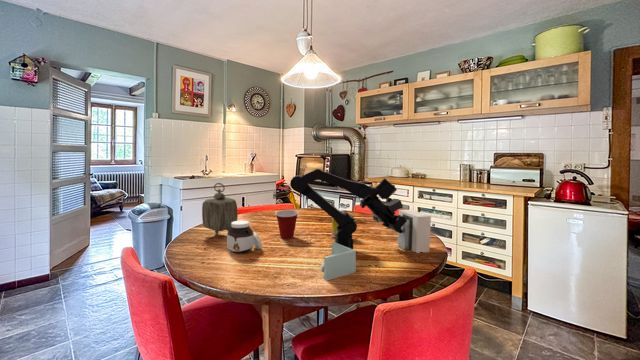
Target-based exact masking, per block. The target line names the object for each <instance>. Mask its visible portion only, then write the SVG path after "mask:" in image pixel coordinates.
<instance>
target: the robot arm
mask: <svg viewBox="0 0 640 360" xmlns="http://www.w3.org/2000/svg"><path fill="white" fill-rule="evenodd" d="M317 180H320V181H322V182H325V183H328V184H330V185H331V186H332V185H333V186H335V187H338V188H340V189H343V190H345V191H347V192H349V193H351V194H352V195H354V196H355V197H358V198H359V199H360V200H359V202H360V203H359V207H360V208H361V209H364V208H366V207H367V208H368V209H369V210H370V211H371V214H372V219H373V221H375V223H377V224H379V223H382V225H381V226H384V227H386V228H387V229H389V230H391V231H393V232H397V233H398V232H399V233H402V229H401V227H402V226H403V225H404V224H405V223H406V222H407V219H406V218H405V217H404V216H401V215H399V214H396V211H399V210H401V209H403V208H404V206H403V204H402V201H401V199H398V198H391V196H392V195H393V194H394V193H395V192H397V191H398V189H397V188H396V186H394V184H392V183H391V182H390V181H388V180H387V178H382V179H381V181H380V182H379V183H378V184H377V185H376V186H370V185H367V184H366V183H364V182H361V181H356V180H351V179H350V180H349V179H346V178H343V177H339V176H337V175H334V174H331V173H330V172H326V171H324V170H322V169H320V168H315V169H314V170H312V171H309V172H306V173H305V174H303V175H301V174H298V175H294V176H293V177H292V178H291V179H290V183H289V184H290V185H289V186H290V188H291V189H292V190H293V191H295V192H296V193H299V194H300V195H302V196H304V197H307V198H308V199H309V200H310V201H312V202H313V203H314V204H315V205H317V206H318V207H319V208H320V209H322V210H323V211H324V212H325V213H326V214H328V216H330V217H331V219H332V218H333V219H334V220H335V221H336V222H337V223H338V225H339V226H338V227H337V228H336V231H337V235H335V237H334V242H336V243H338V244H341V245H343V246H345V247H348V248H350V249H353V250H354V239H353V234H354V233H355V232H356V231H357V228H358V224H357V222H356V219H355V217H354V216H353V215H351V214H350V213H349V211H347V210H345V209H344V213H343V212H341V211H339V210H338V209H339V208H337V207H336V206H334V204H332V203H331V202H329V201H328V200H327V199H326V198H325V197H323V196H322V195H321V194H320V193H318V192H317V191H316V190H315V189H314V188H313V187H312V185H311V183H313V182H315V181H317ZM382 200H385V203H384V202H383V201H382Z"/></svg>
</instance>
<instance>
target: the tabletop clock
mask: <svg viewBox="0 0 640 360" xmlns="http://www.w3.org/2000/svg"><path fill="white" fill-rule="evenodd" d="M218 185H220V186H222V188H223V189H222V190H221V189H220V188H218V189H216V186H218ZM213 189H214V191H216V193H215V194H214V195H213V198H209V199H208V198H207V199H205V200H204V201H203V202H202V207H201V208H202V209H201V210H202V211H201V218H202V225H203V227H204V228H206V229H209V230H212V231H214V233H215V234H214V236H213V237H214V238H215V239H217V238H218V237H219V235H218V233H219V232H223V231H227V232H228V231H229V229H230V228H231V223H232V222H234V221H238V216H239V214H238V204H237V202H236V199H233V198H231V197H226V195H225V194H224V193H223V192H224V191H225V185H224V184H223V183H222V182H216V183H215V184H214V185H213Z"/></svg>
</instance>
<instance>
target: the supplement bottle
mask: <svg viewBox="0 0 640 360" xmlns="http://www.w3.org/2000/svg"><path fill="white" fill-rule="evenodd" d="M337 209H338V210H339V211H341V212H343V213H344V212H345V209H343V208H337ZM338 226H339V225H338V223H337V222H336V221H335V220H334V219H333V218H332V217H331V237H332V238H335V235H337V231H336V228H337V227H338Z"/></svg>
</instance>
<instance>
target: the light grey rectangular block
mask: <svg viewBox="0 0 640 360" xmlns="http://www.w3.org/2000/svg"><path fill="white" fill-rule="evenodd" d="M406 219H407V222H406V223H405V224H404V225H403V226H402V227H401V229H402V233H399V232H397V246H398V247H399V248H400V249H402V250H410V246H411V219H409V218H406Z"/></svg>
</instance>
